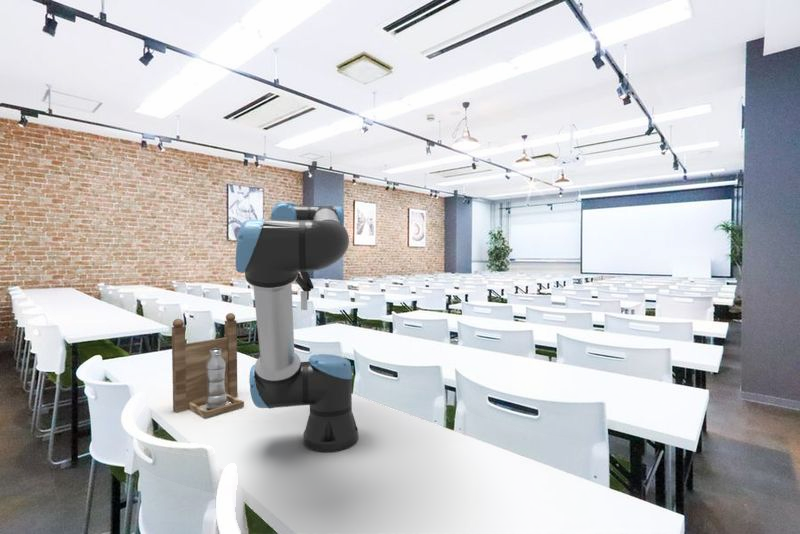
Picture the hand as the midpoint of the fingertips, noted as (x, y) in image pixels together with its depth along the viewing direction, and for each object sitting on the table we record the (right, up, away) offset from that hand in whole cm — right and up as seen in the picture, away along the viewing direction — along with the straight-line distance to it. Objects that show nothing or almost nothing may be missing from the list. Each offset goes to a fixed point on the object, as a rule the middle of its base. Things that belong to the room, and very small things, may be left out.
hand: (287, 312), depth 139 cm
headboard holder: (-25, -33, +1) cm, 41 cm away
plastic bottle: (-25, -33, +1) cm, 41 cm away
